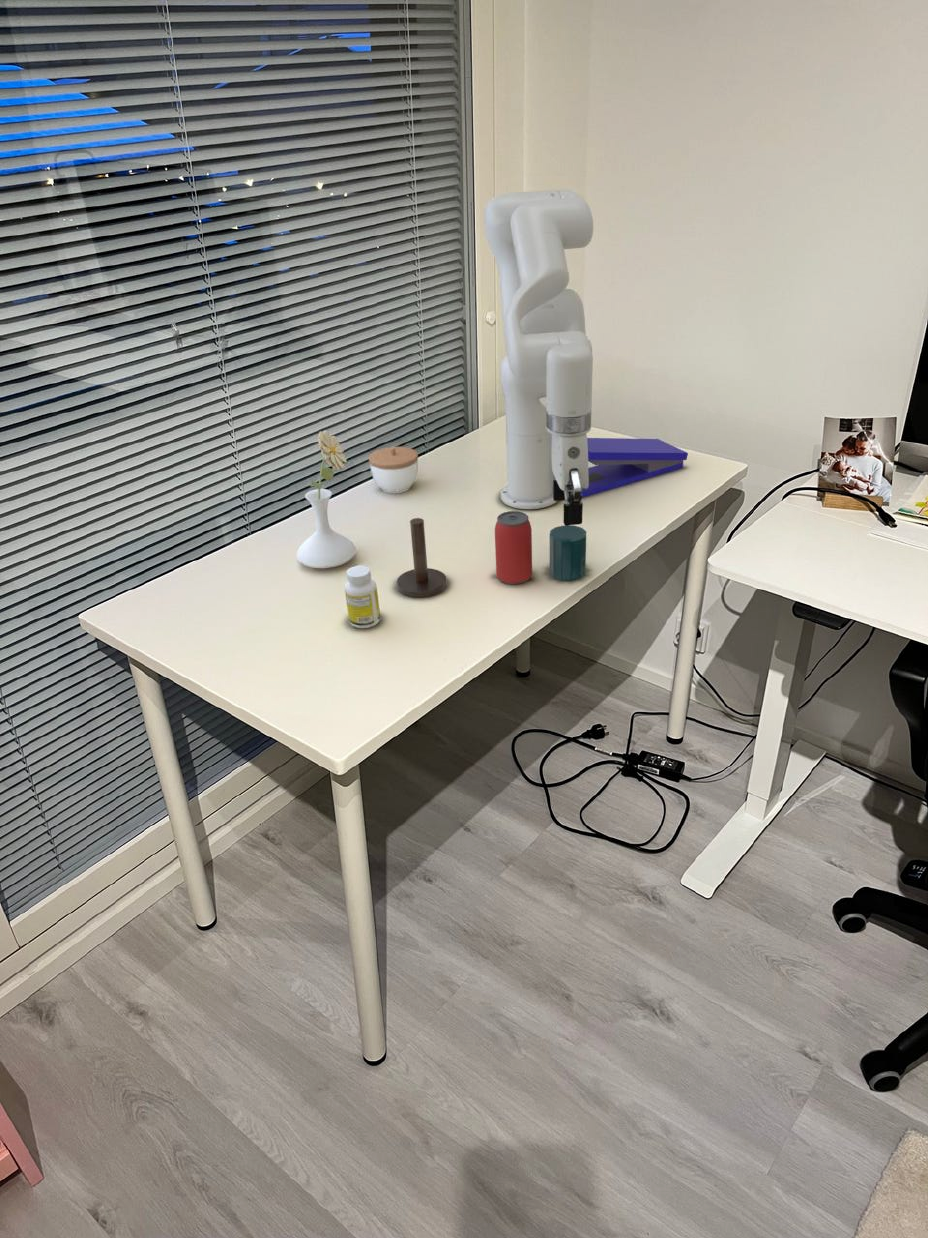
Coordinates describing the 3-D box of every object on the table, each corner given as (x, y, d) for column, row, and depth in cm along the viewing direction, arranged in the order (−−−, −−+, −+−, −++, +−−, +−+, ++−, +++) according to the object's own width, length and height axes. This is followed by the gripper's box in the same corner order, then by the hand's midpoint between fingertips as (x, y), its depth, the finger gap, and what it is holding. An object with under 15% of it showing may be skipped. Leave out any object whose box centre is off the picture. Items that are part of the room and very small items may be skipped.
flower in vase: (332, 579, 178) (315, 452, 165) (285, 566, 183) (265, 442, 170) (373, 550, 187) (360, 428, 174) (327, 538, 193) (311, 419, 180)
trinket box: (429, 483, 214) (426, 444, 209) (401, 501, 206) (397, 460, 202) (391, 475, 219) (388, 436, 214) (362, 492, 212) (357, 452, 207)
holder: (419, 569, 180) (414, 505, 173) (456, 582, 175) (452, 517, 168) (387, 588, 174) (380, 524, 167) (424, 602, 169) (419, 536, 162)
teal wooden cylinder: (562, 560, 180) (563, 522, 176) (592, 569, 176) (593, 530, 172) (543, 574, 176) (542, 535, 172) (572, 584, 172) (573, 544, 168)
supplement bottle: (364, 609, 168) (358, 560, 163) (387, 618, 165) (381, 568, 160) (342, 623, 165) (335, 573, 159) (365, 632, 162) (358, 582, 156)
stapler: (555, 481, 212) (555, 439, 207) (654, 452, 223) (657, 412, 218) (585, 498, 203) (586, 455, 198) (687, 468, 214) (691, 426, 209)
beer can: (532, 568, 178) (532, 509, 172) (531, 585, 172) (530, 525, 166) (497, 568, 179) (495, 509, 172) (495, 585, 173) (492, 525, 167)
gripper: (602, 437, 154) (598, 532, 163) (580, 400, 169) (578, 489, 178) (556, 441, 154) (555, 536, 163) (538, 404, 168) (538, 492, 177)
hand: (567, 511), depth 170 cm, fingers open, 9 cm apart
